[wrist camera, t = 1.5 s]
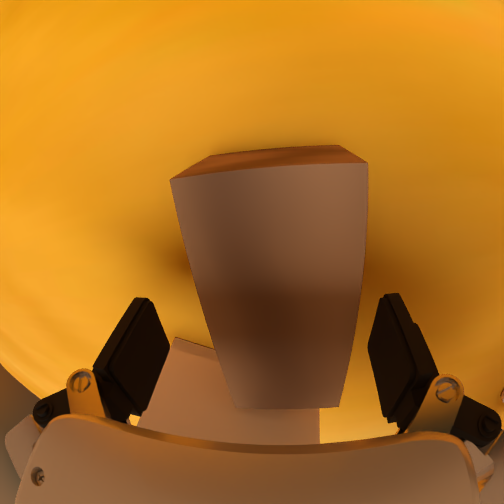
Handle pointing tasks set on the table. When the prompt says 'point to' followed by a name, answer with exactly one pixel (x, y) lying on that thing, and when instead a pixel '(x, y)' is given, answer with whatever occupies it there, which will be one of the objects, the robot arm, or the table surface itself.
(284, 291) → the brown rectangular block
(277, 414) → the cradle
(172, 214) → the table surface
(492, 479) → the robot arm
